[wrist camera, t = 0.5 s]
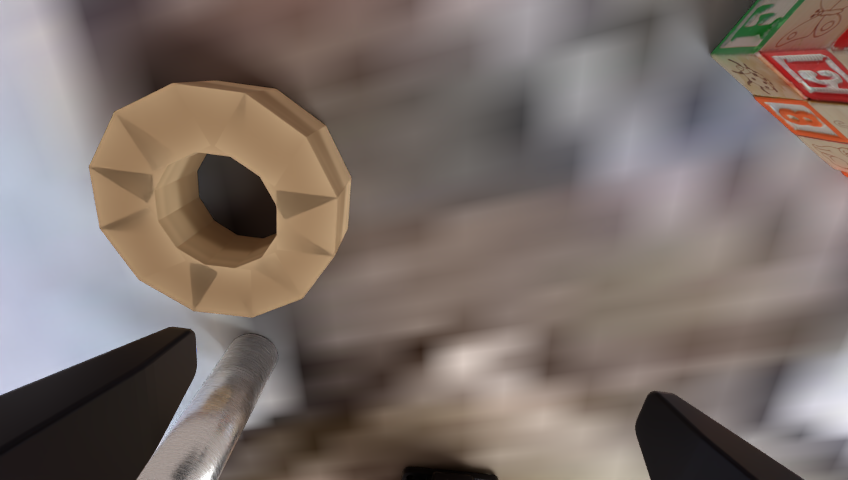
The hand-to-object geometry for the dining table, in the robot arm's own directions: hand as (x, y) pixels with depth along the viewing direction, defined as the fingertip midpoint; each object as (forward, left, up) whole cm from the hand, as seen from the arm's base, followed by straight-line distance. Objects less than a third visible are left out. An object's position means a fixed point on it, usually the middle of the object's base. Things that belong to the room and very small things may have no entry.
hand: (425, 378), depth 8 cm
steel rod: (-11, +9, -14) cm, 20 cm away
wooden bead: (-1, +9, -14) cm, 16 cm away
